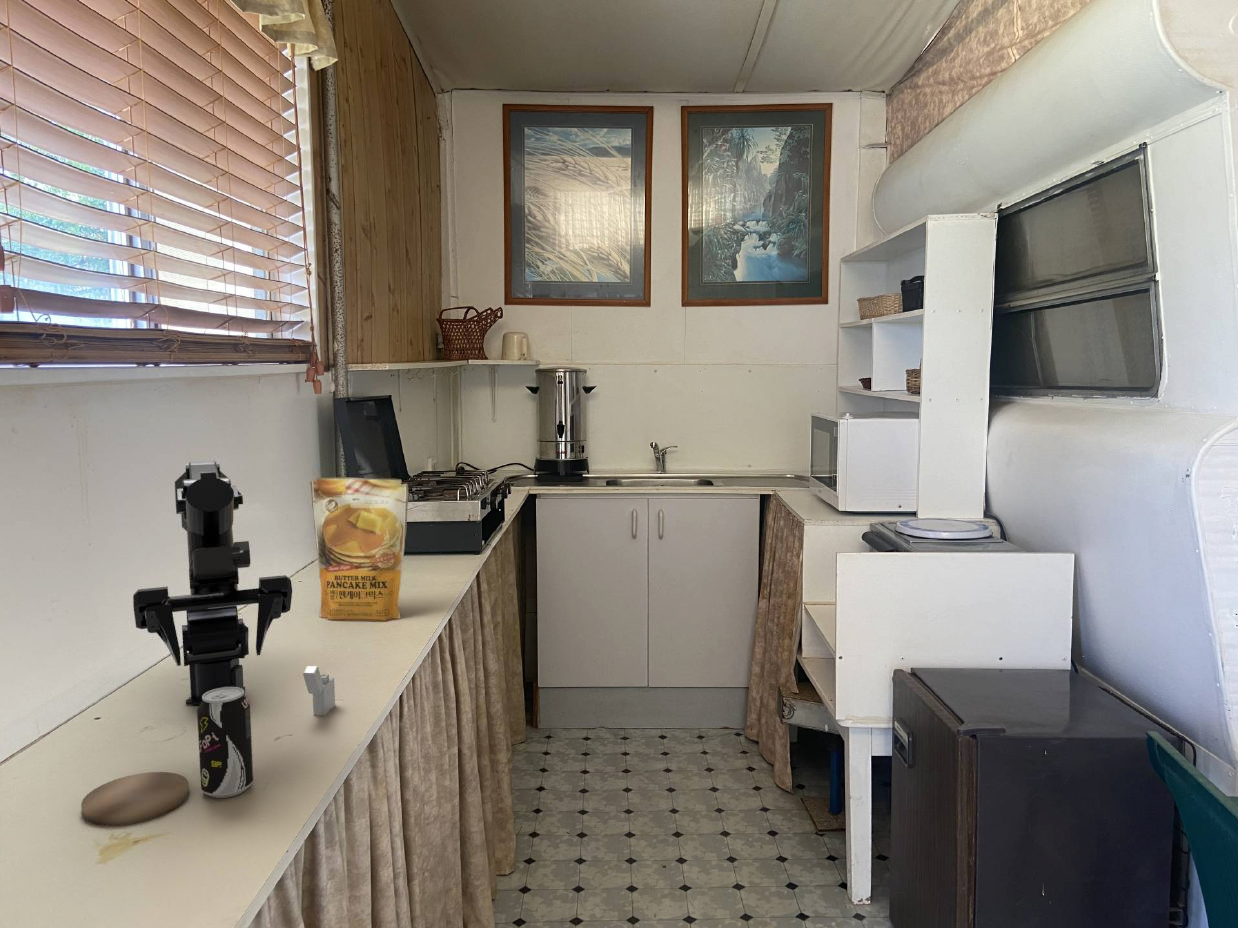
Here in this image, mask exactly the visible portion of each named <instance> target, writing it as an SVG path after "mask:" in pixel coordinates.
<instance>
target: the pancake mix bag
mask: <svg viewBox="0 0 1238 928" xmlns="http://www.w3.org/2000/svg"><path fill="white" fill-rule="evenodd" d="M309 484H310V491H311V506H312V511H313V523H314V524H313V526H314V537H315V538H314V539H315V545H316V553H317V557H318V558H317V561H318V571H319V580H320V588H321V589H320V591H321V593H320V595H321V596H320V609H319V618H324V619H327V620H328V621H344V622H388V621H392V620H397V619H401V614H400V608H399V605H398V604H399V599H400V591H401V584H402V571H403V563H404V556H405V547H406V543H405V542H406V536H407V526H408V523H407V521H408V504H409V498H410V497H409V486H408V483H403V481H402V479H401V478H364V477H317V478H316V479H313V480H311V481H309Z"/></svg>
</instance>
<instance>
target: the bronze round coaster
mask: <svg viewBox="0 0 1238 928" xmlns="http://www.w3.org/2000/svg"><path fill="white" fill-rule="evenodd" d="M189 794H190V782H189V779H187V777H185V776H183V775H182V774H178V773H174V772H171V771H169V772H168V771H153V772H152V771H151V772H143V773H142V772H141V773H136V774H132V775H127V776H124V777H120V778H115V779H113V780H111V781H108V782H106V783H103V784H101V785H99V786H97V787H95V788H94V789H93V790H91V791H90V792H89V793H87V794H86V796H84V798H83V799H82V800H81V815H82V818H83V819H84V820H85V821H87V822H88V823H90V824H93V825H97V826H108V827H109V826H112V827H113V826H124V825H125V826H126V825H132V824H137V823H138V824H139V823H141V822H146V821H149V820H152V819H154V818H158V817H161V816H163V815H166V814H168V813H169V812H172V811H174V810H175V809H176V808H179V807H180V806H181V805H182V804H183V803H185V802H186V800H187V799H188V797H189V796H190V795H189Z"/></svg>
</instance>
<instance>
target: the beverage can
mask: <svg viewBox="0 0 1238 928" xmlns="http://www.w3.org/2000/svg"><path fill="white" fill-rule="evenodd" d="M196 715H197V732H198V733H197V734H198V737H197V738H198V751H199V752H198V755H199V756H198V757H199V771H200V772H199V773H200V789H201V791H202V793H203V794H205V795H207V796H210V797H212V798H216V799H226V798H231V797H235V796H237V795H240V794H242V793H243V792H244V791H245V790H247V789H248V788H250V787H251V785H252V784H253V783H254V765H253V764H254V762H253V743H252V742H253V740H252V724H251V723H252V721H251V718H252V717H251V703H250V700H249V699H248V698H247V696H245V691H244V690H243V689H241V688H238V687H223V688H217V689H213V690H210V691H208V692H206V693H204V694H203V696H202V702H201V704H198V707H197V711H196Z"/></svg>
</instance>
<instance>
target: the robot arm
mask: <svg viewBox="0 0 1238 928" xmlns="http://www.w3.org/2000/svg"><path fill="white" fill-rule="evenodd" d="M184 465H185V472H184V473H183V474H181V475H180V476H179V477H178V478H177V479H176V480H175V481H174V495H175V497H174V498H175V500H174V501H175V509H176V510H175V514H176V515H180V518H181V521H180V522H181V528H183V529H184V531H186V535H187V536H186V537H187V538H186V539H187V552H188V553H187V555H188V556H187V557H188V576H189V578H188V579H189V589H190V594H184V595H175V596H174V595H173V596H172V595H171V596H170V595H169V588H168V586H161V587H160V586H159V587H150V588H149V587H148V588H141V589H139V588H138V589H137V590H136V591H135V593H134V594H133V595H132V600H133V601H132V602H133V603H132V604H133V605H132V606H133V614H134V622H135V628H136V629H140V630H145V629H147V633H149V634H156V635H158V637H160V639H161V640H162V641H163V643H164V644H165V646H166V647H167V649H168V651H169V653H170V655H171V656H172V659H173V660H174V662H175V664H176V666H177V667H181V665H182V660H181V659H182V658H181V648H180V644H179V643H180V642H179V639H178V633H177V629H176V625H175V620H174V614H173V613H179V612H185V611H186V624H183V625H181V633H182V634H181V636H182V652H183V666H184V667H189V668H188V670H189V685H190V686H189V688H190V697H188V698H187V699H186V700H185V705H200V704H201V702H202V696H203V694H204V693H206V692H208V691H210V690H213V689H217V688H223V687H238V688H241V689H243V690H244V692H245V691H246V686H244V668H243V665H242V664H240V659H245V658H246V656H248V655H249V653H250V652H249V651H250V650H249V627H248V626H247V625H246V624H245V622H244V619H243V618H239V612H238V606H246V605H256V604H257V605H258V607H257V619H256V620H257V623H256V638H255V651H256V656H257V657H258V656H260V655H261V653H262V650H263V647H264V642H265V639H266V636H267V634H268V633H267V632H268V631H269V628H270V626H271V624H272V623H273V620H277V619H280V618H281V617H282V614H286V613H289V612H290V611H291V606H292V597H293V586H292V585H293V584H292V580H291V579H290V577H288V576H287V575H285V574H284V575H274V576H265V577H259V578H258V588H249V589H248V588H246V589H239V587H238V585H239V584H240V583H239V582H240V581H239V580H240V577H239V576H240V575H239V569H243V568H250V567H251V551H250V550H251V548H250V543H249V541H248V540H244V541H235V542H234V532H233V525H234V511H237V510H239V509H240V508H239V507H240V505H244V500H243V499H244V497H243V494H242V493H241V492H240V491H239V490H238V488H237V485H232V482H231V479H230V478H229V477H228V476H227V475H225V473H223V472H222V471H221V467H220V462H219V461H217V462H216V460H203V461H202V460H201V461H189V462H188V463H185V464H184Z"/></svg>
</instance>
